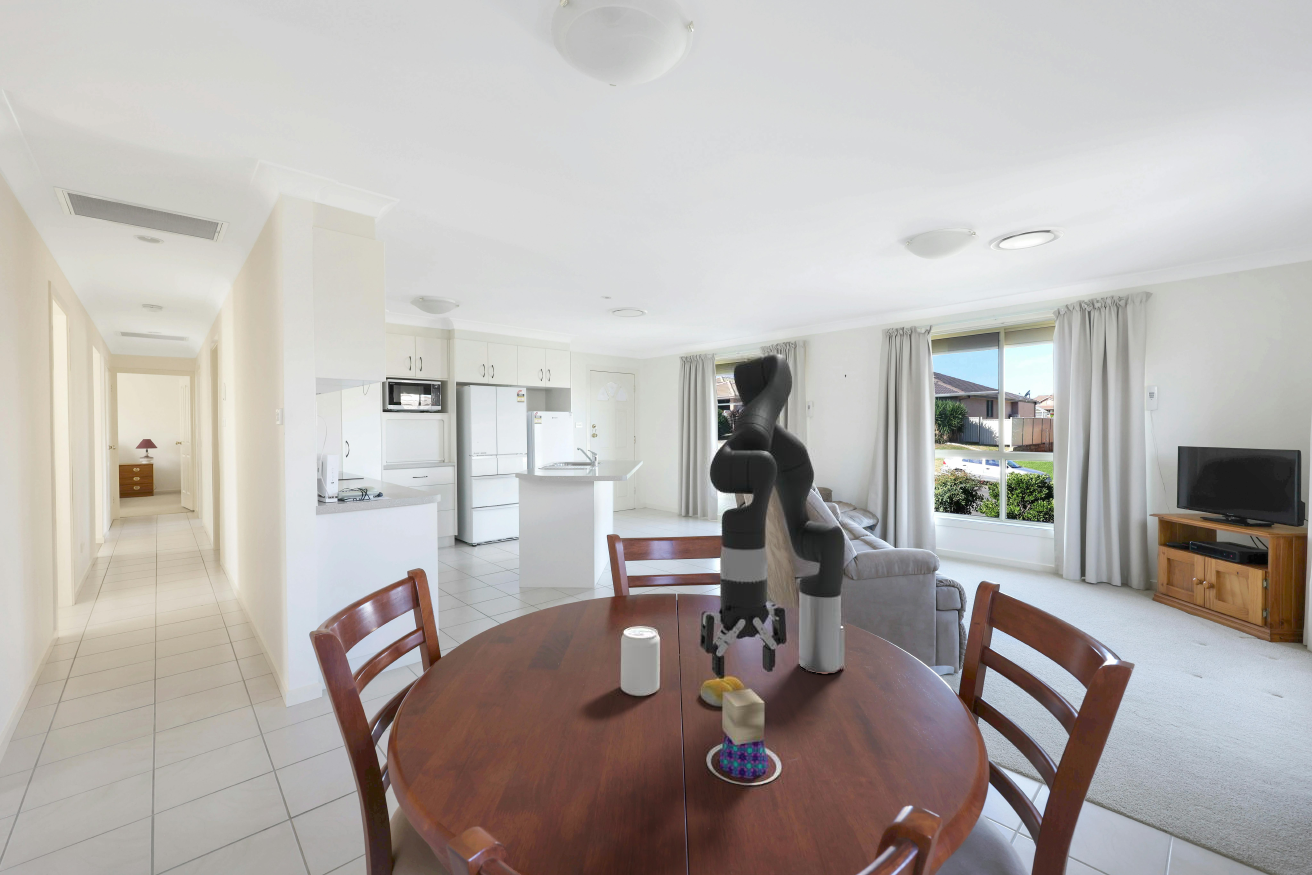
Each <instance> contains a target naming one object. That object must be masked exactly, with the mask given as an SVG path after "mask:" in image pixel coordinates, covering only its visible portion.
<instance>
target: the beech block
mask: <svg viewBox="0 0 1312 875" xmlns="http://www.w3.org/2000/svg"><path fill="white" fill-rule="evenodd" d="M721 720H722V723H721V724H722V728H721V729H722V730H723V731H724V733H725V734H727V735H728V736H729V738H730V739H731V740H732V741H733V743H734V744H735V745H738V744H744V743H750V742H756V741H762V740H763V741H765V702H764V700H762V698H761V697H760V696H758V695H757V693H755V692H754V691H753V689H751V688H745V690H737V691H730V692H723V706H722V718H721Z"/></svg>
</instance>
